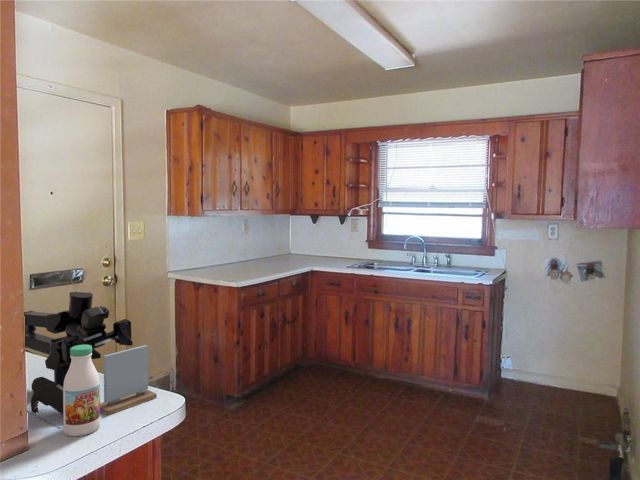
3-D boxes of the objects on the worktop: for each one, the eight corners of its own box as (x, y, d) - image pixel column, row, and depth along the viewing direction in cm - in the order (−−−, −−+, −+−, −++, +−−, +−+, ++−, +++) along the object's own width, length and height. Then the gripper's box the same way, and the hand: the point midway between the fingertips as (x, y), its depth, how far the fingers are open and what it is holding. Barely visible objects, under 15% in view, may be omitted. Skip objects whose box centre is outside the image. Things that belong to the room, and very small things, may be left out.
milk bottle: (56, 433, 105) (54, 349, 103) (83, 419, 112) (82, 340, 111) (81, 440, 102) (79, 353, 101) (107, 425, 109) (106, 344, 108)
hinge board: (96, 409, 118) (95, 404, 118) (144, 392, 129) (144, 388, 129) (108, 415, 114) (108, 410, 114) (156, 397, 126) (156, 393, 126)
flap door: (104, 404, 117) (103, 355, 117) (145, 390, 127) (145, 345, 126) (107, 406, 116) (106, 356, 116) (149, 391, 126) (148, 346, 125)
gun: (69, 441, 112) (84, 408, 111) (19, 406, 115) (34, 373, 113) (77, 435, 115) (92, 403, 114) (28, 401, 118) (43, 370, 116)
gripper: (47, 315, 118) (80, 333, 110) (113, 296, 133) (146, 311, 125) (50, 353, 121) (82, 374, 113) (114, 330, 136) (147, 347, 128)
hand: (116, 349), depth 120 cm, fingers open, 9 cm apart
